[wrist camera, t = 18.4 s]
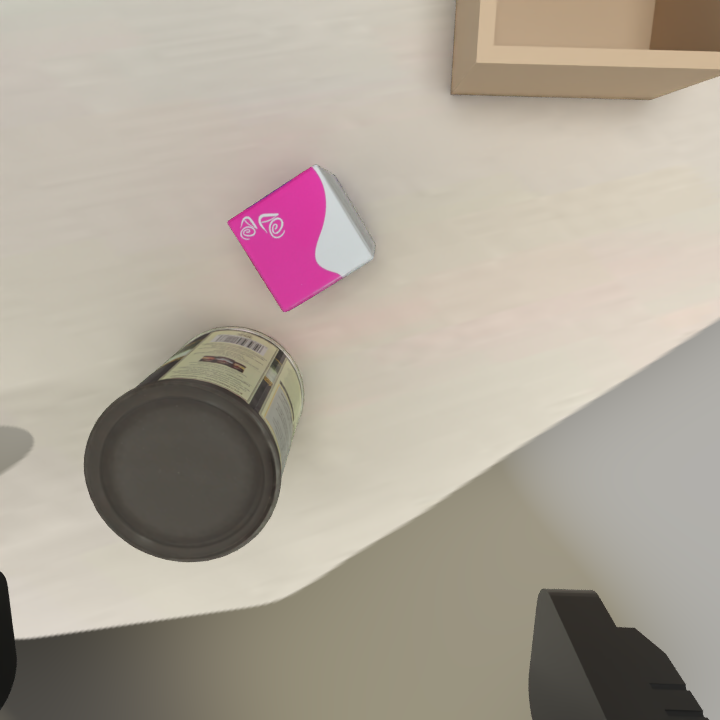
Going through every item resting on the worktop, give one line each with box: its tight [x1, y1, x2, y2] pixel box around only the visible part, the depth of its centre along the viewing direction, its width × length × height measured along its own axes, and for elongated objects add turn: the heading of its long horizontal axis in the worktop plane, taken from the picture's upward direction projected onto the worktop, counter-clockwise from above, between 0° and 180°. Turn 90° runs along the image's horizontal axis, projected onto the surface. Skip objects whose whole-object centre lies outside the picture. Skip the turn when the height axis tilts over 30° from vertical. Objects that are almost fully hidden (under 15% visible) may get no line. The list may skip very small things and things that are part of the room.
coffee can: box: [84, 327, 304, 562], centre depth 40 cm, size 10×10×14 cm
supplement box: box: [227, 165, 376, 312], centre depth 38 cm, size 6×6×12 cm
